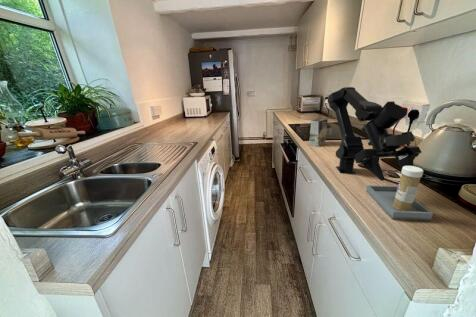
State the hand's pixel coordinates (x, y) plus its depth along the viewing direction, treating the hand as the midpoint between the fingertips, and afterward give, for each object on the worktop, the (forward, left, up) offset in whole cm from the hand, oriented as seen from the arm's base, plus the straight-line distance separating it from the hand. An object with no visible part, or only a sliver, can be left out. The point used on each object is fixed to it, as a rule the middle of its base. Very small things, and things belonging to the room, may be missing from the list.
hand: (397, 179), depth 62 cm
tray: (0, +1, -9) cm, 9 cm away
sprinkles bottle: (+4, +1, -8) cm, 9 cm away
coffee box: (-69, -8, -9) cm, 70 cm away
